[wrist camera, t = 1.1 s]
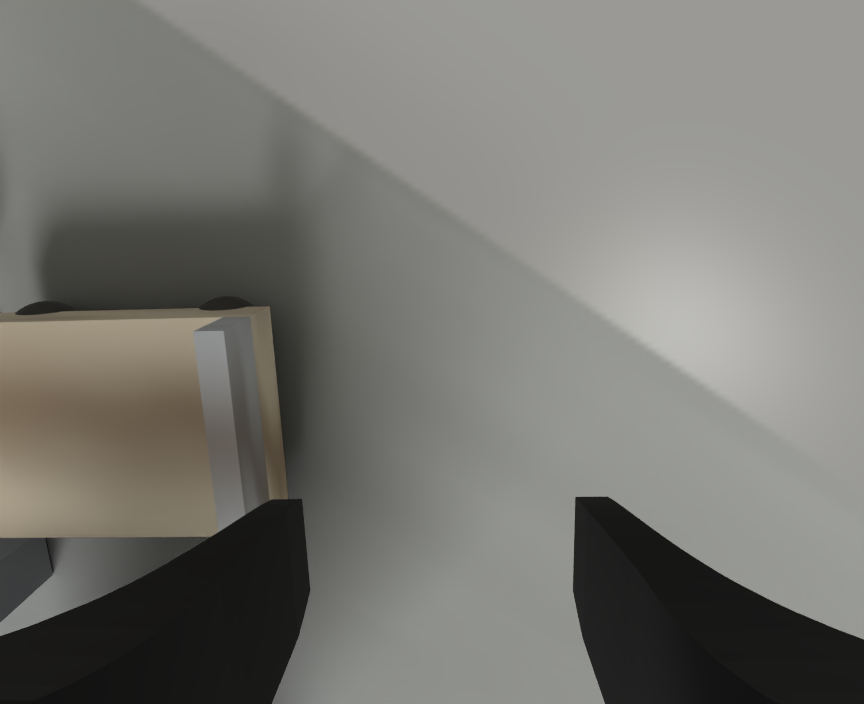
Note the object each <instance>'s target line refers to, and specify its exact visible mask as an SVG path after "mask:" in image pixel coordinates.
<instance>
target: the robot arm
mask: <svg viewBox="0 0 864 704" xmlns="http://www.w3.org/2000/svg"><path fill="white" fill-rule="evenodd" d="M309 593H310V582H309V571H308V560H307V549H306V538H305V528H304V517H303V506H302V499H272V500H270V501H267V502H265V503H264V504H262V505H260V506H258V507H257V508H255V509H254V510H252V511H250V512H249V513H247V514H246V515H244V516H243V517H241V518H239V519H238V520H236V521H235V522H233V523H232V524H230V525H229V526H227V527H226V528H224V529H222V530H221V531H219V532H218V533H216V534H215V535H213V536H212V537H210V538H209V539H207V540H205V541H204V542H202V543H201V544H199V545H197V546H196V547H194V548H192V549H191V550H189V551H187V552H186V553H184V554H182V555H180V556H179V557H177V558H175V559H174V560H172V561H170V562H169V563H167V564H165V565H163V566H162V567H160V568H158V569H157V570H155V571H153V572H151V573H149V574H147V575H145V576H144V577H142V578H140V579H138V580H136V581H134V582H132V583H130V584H128V585H126V586H124V587H122V588H119V589H117V590H115V591H113V592H111V593H109V594H107V595H105V596H103V597H101V598H98V599H96V600H94V601H92V602H89V603H87V604H84V605H82V606H79V607H77V608H74V609H72V610H69V611H67V612H64V613H62V614H59V615H57V616H54V617H52V618H49V619H47V620H44V621H42V622H39V623H37V624H34V625H31V626H29V627H26V628H23V629H20V630H17V631H14V632H11V633H8V634H6V635H3V636H0V704H272V701H273V699H274V696H275V694H276V691H277V689H278V687H279V684H280V682H281V679H282V677H283V674H284V672H285V669H286V667H287V664H288V662H289V659H290V657H291V654H292V652H293V649H294V647H295V644H296V642H297V639H298V636H299V633H300V629H301V625H302V621H303V618H304V614H305V610H306V606H307V602H308V597H309ZM573 593H574V598H575V603H576V608H577V613H578V618H579V622H580V627H581V632H582V636H583V640H584V643H585V646H586V649H587V652H588V655H589V658H590V661H591V664H592V667H593V670H594V673H595V676H596V679H597V681H598V684H599V687H600V690H601V693H602V696H603V699H604V702H605V704H864V640H863V639H861V638H858V637H855V636H853V635H850V634H847V633H845V632H842V631H839V630H837V629H834V628H832V627H830V626H827V625H825V624H822V623H820V622H818V621H815V620H813V619H811V618H808V617H806V616H804V615H801V614H799V613H796V612H794V611H792V610H790V609H788V608H785V607H783V606H781V605H779V604H777V603H775V602H773V601H771V600H769V599H767V598H765V597H763V596H761V595H759V594H757V593H755V592H753V591H751V590H749V589H747V588H745V587H743V586H741V585H740V584H738V583H736V582H734V581H732V580H730V579H729V578H727V577H725V576H723V575H722V574H720V573H718V572H717V571H715V570H713V569H712V568H710V567H709V566H707V565H705V564H704V563H702V562H700V561H699V560H697V559H696V558H694V557H692V556H691V555H689V554H688V553H686V552H685V551H683V550H682V549H680V548H679V547H677V546H676V545H674V544H673V543H672V542H670V541H669V540H667V539H666V538H664V537H663V536H662V535H660V534H659V533H657V532H656V531H655V530H653V529H652V528H651V527H649V526H648V525H646V524H645V523H644V522H642V521H641V520H640V519H638V518H637V517H636V516H634V515H633V514H632V513H630V512H629V511H628V510H626V509H625V508H624V507H622V506H621V505H619V504H618V503H617V502H615V501H614V500H612V499H611V498H609V497H576V500H575V537H574V574H573Z"/></svg>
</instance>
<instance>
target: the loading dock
mask: <svg viewBox="0 0 864 704" xmlns="http://www.w3.org/2000/svg"><path fill="white" fill-rule="evenodd" d="M52 575H53V573H52V568H51V563H50V558H49V554H48V549H47V544H46V539H45V538H0V622H1V621H2V620H3V619H4V618H6V617H7V616H8V615H9V614H10V613H11V612H12V611H13V610H14V609H15V608H17V607H18V606H19V605H20V604H21V603H22V602H23V601H24V600H25V599H26V598H28V597H29V596H30V595H31V594H32V593H33V592H34V591H35V590H36V589H37V588H39V587H40V586H41V585H42V584H43V583H44V582H45V581H46V580H47V579H49V578H50V577H51V576H52Z"/></svg>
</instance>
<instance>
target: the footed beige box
mask: <svg viewBox="0 0 864 704" xmlns="http://www.w3.org/2000/svg"><path fill="white" fill-rule="evenodd" d="M272 499H288V489H287V479H286V469H285V458H284V448H283V438H282V427H281V417H280V407H279V396H278V386H277V376H276V366H275V355H274V345H273V335H272V324H271V314H270V306H261V307H254V306H253V305H251V304H250V303H248V302H247V301H245V300H242V299H239V298H235V297H220V298H215V299H213V300H210V301H208V302H207V303H205V304H204V305H202V306H201V307H200V308H180V309H140V310H99V311H76V310H75V309H73V308H71V307H70V306H67V305H65V304H62V303H58V302H51V301H44V302H36V303H33V304H30V305H27V306H25V307H23V308H22V309H20V310H19V311H17V312H16V313H0V538H71V537H212V536H213V535H215V534H216V533H218V532H219V531H221V530H222V529H224V528H226V527H227V526H229V525H230V524H232V523H233V522H235V521H236V520H238V519H239V518H241V517H243V516H244V515H246V514H247V513H249V512H250V511H252V510H254V509H255V508H257V507H258V506H260V505H262V504H264V503H265V502H267V501H270V500H272Z"/></svg>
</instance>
